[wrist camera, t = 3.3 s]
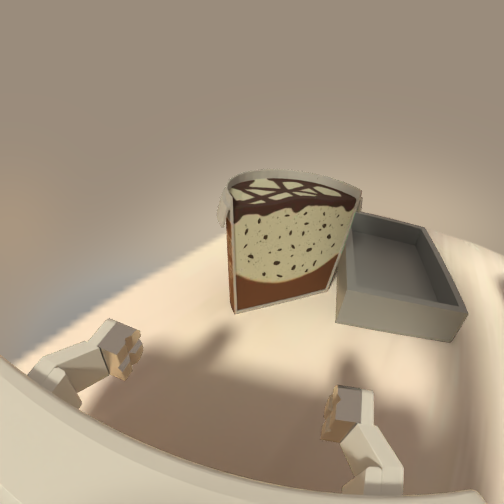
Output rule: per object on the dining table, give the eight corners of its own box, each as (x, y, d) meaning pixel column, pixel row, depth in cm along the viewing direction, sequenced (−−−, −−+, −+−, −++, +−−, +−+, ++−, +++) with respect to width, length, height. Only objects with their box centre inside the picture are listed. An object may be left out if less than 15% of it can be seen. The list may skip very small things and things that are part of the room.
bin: (416, 250, 37) (424, 227, 36) (450, 342, 23) (468, 313, 21) (337, 232, 39) (343, 207, 38) (335, 322, 24) (347, 289, 23)
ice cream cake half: (305, 255, 33) (323, 167, 28) (339, 288, 29) (366, 190, 24) (195, 274, 28) (196, 169, 23) (217, 318, 24) (223, 198, 19)
